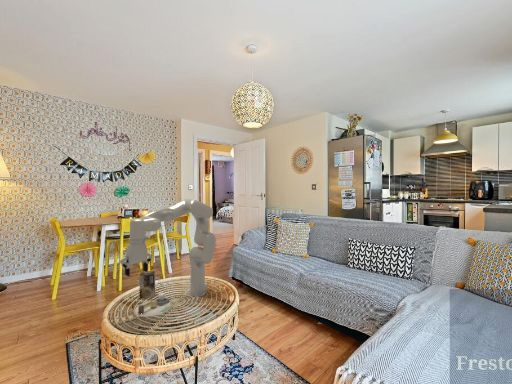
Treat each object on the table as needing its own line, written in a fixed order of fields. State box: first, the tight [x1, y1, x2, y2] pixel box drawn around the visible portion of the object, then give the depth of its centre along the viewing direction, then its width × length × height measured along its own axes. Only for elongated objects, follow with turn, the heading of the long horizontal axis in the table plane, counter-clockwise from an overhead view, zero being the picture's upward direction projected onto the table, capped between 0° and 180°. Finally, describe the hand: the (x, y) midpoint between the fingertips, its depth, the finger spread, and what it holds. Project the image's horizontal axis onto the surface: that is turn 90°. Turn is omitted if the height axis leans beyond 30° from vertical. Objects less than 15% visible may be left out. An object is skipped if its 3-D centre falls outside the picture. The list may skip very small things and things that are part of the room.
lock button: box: [157, 292, 166, 302], centre depth 150 cm, size 4×4×4 cm
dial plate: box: [134, 297, 173, 318], centre depth 144 cm, size 20×20×3 cm
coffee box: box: [139, 270, 156, 300], centre depth 160 cm, size 9×6×16 cm
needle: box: [137, 298, 158, 314], centre depth 141 cm, size 12×4×4 cm, turn 149°
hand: (136, 273), depth 133 cm, fingers open, 9 cm apart
